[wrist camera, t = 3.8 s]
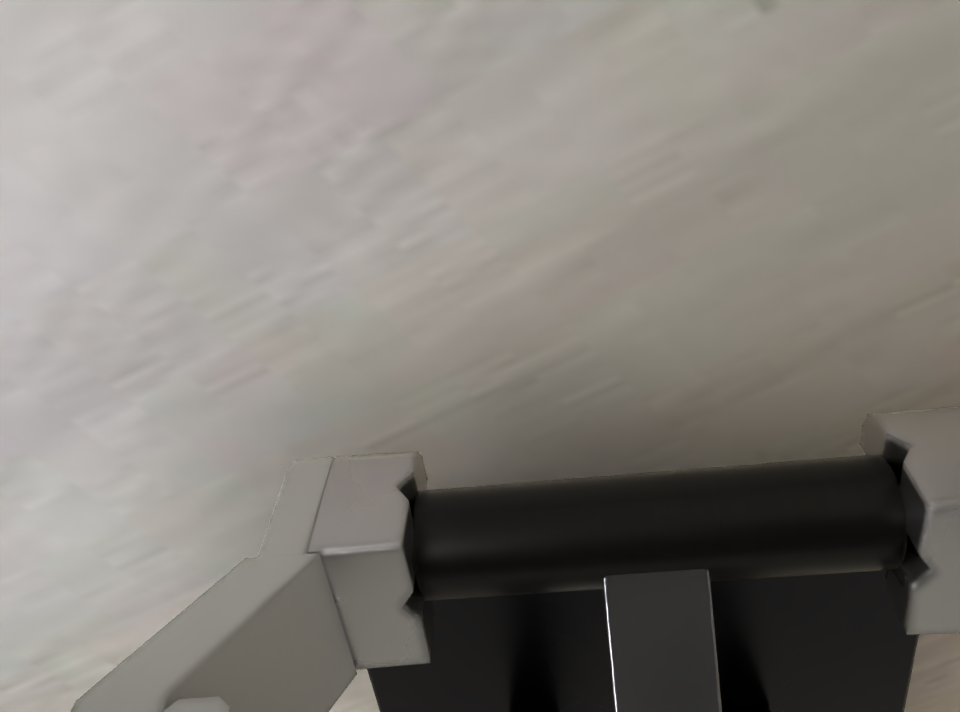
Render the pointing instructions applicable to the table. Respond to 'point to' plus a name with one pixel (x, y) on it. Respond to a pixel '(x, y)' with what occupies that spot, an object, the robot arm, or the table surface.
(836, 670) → the black hinged clamp mount
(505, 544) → the press lever
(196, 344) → the table surface
